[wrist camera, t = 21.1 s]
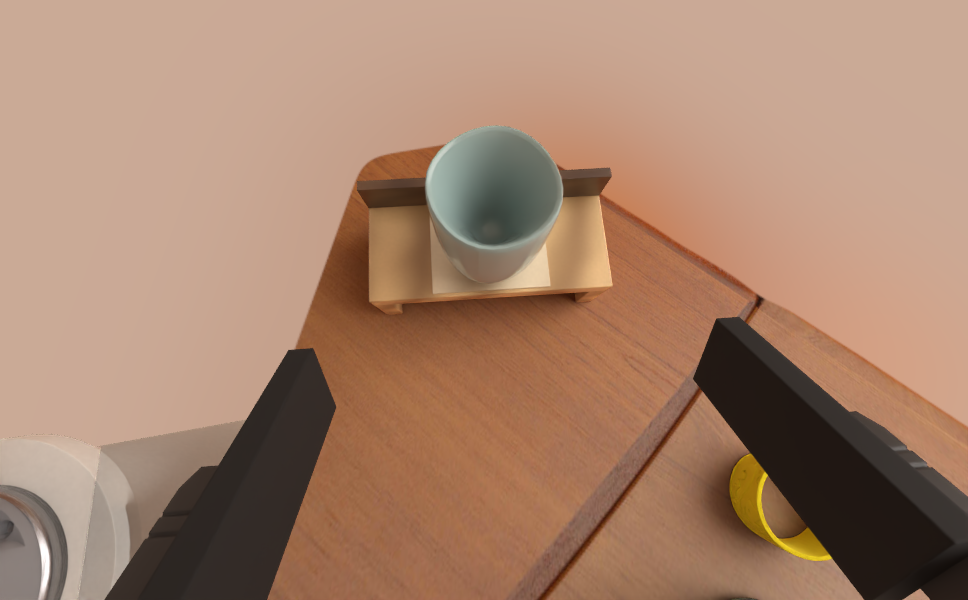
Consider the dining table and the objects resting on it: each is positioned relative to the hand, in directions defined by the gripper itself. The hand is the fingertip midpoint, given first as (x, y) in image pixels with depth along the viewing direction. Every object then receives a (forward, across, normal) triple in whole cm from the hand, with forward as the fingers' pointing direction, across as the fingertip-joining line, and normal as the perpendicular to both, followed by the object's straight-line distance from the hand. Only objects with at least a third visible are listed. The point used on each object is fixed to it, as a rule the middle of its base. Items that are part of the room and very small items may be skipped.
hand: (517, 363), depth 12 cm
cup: (+18, 0, -4) cm, 19 cm away
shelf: (+23, 0, -8) cm, 24 cm away
